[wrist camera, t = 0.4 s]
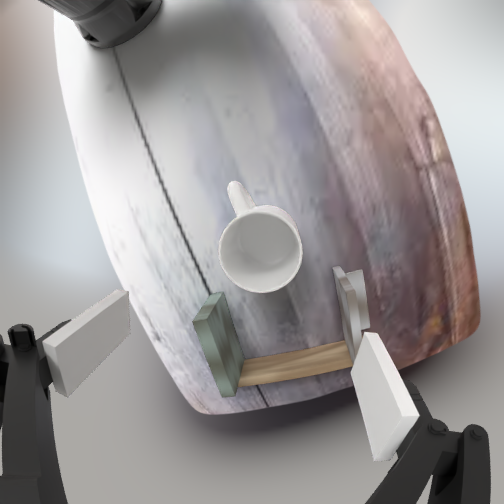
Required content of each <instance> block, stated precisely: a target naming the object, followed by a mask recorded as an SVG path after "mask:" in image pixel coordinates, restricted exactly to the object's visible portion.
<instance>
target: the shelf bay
mask: <svg viewBox="0 0 504 504" xmlns="http://www.w3.org/2000/svg"><path fill="white" fill-rule="evenodd" d="M332 268H333V273H334V279H335V284H336V290H337V295H338V301H339V307H340V313H341V319H342V325H343V332H344V338H345V340H343V341H339V342H334V343H330V344H326V345H321V346H317V347H312V348H307V349H302V350H297V351H292V352H287V353H281V354H276V355H270V356H264V357H258V358H252V359H244V356H243V353H242V350H241V347H240V344H239V341H238V338H237V335H236V331H235V328H234V325H233V322H232V319H231V316H230V313H229V309H228V306H227V303H226V300H225V297H224V293H223V292H219V293H214V294H211V295H210V297H209V298H208V299H207V301H206V302H205V304H204V305H203V307H202V308H201V310H200V311H199V312H198V314H197V315H196V317H195V318H194V320H193V321H192V322H193V325H194V328H195V330H196V333H197V336H198V338H199V341H200V344H201V346H202V349H203V352H204V354H205V357H206V359H207V362H208V364H209V367H210V369H211V372H212V374H213V377H214V379H215V382H216V384H217V386H218V389H219V391H220V394H221V396H222V397H233V396H235V395H236V392H237V388H238V387H243V386H251V385H258V384H265V383H272V382H278V381H284V380H290V379H296V378H301V377H307V376H312V375H317V374H321V373H326V372H331V371H335V370H340V369H344V368H348V367H352V366H353V365H354V362H355V359H356V356H357V354H358V351H359V348H360V345H361V342H362V339H363V336H362V334H361V330H363V329H367V328H370V321H369V313H368V305H367V297H366V290H365V283H364V276H363V270H362V269H361V270H357V271H353V272H349V273H345V274H344V272H343V270H342V269H341V267H340V266H336V267H332Z"/></svg>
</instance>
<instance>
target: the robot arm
mask: <svg viewBox="0 0 504 504" xmlns="http://www.w3.org/2000/svg"><path fill="white" fill-rule="evenodd" d="M38 1H40V2H42V3H44V4H45V5H47V6H49V7H51V8H53V9H54V10H56V11H58V12H60V13H61V14H63V15H65V16H66V17H68V18H70V19H71V20H73V21H74V23H75V25H76V27H77V28H78V30H79V32H80V33H81V35H82V37H83V38H84V39H85V40H86V41H87V42H88V43H90V44H92V45H93V46H95V47H99V48H108V47H113V46H116V45H119V44H121V43H124V42H126V41H127V40H129V39H131V38H132V37H134V36H135V35H137V34H138V33H139V32H140V31H142V30H143V29H144V28H145V27H146V26H147V25H148V24H149V23H150V21H151V20H152V19H153V18H154V16H155V15H156V13H157V11H158V9H159V7H160V4H161V0H38ZM129 334H130V319H129V292H128V291H124V290H120V289H117V290H115V291H114V292H112V293H111V294H109V295H108V296H106V297H105V298H104V299H102V300H101V301H99V302H98V303H96V304H95V305H93V306H92V307H90V308H89V309H87V310H86V311H84V312H83V313H82V314H80V315H79V316H77V317H76V318H75V319H73V320H68V321H65V322H62V323H60V324H59V325H58V326H56V328H53V329H52V330H51V331H49V332H47V333H46V334H45V335H43V336H42V337H41V338H39V339H38V340H35V336H34V331H33V328H32V327H31V326H30V325H27V324H18V325H15V326H12V327H11V328H10V329H9V330H8V335H9V339H10V343H11V345H6V344H4V342H3V338H2V336H1V335H0V429H1V427H2V466H3V474H2V476H0V504H68V502H67V499H66V495H65V491H64V487H63V483H62V478H61V473H60V469H59V464H58V458H57V452H56V447H55V440H54V431H53V422H52V413H51V401H50V400H51V399H50V390H49V387H48V386H49V385H50V384H51V383H52V382H53V384H54V387H55V390H56V392H58V393H60V394H62V395H64V396H66V397H69V396H70V395H71V394H72V393H73V392H74V391H75V390H76V389H77V388H78V387H79V385H80V384H81V383H82V382H83V381H84V380H85V379H86V378H87V377H88V376H89V375H90V374H91V373H92V372H93V371H94V370H95V369H96V368H97V367H98V366H99V365H100V364H101V363H102V362H103V361H104V360H105V359H106V358H107V356H109V355H110V353H112V351H113V350H114V349H115V348H116V347H117V346H118V345H119V344H120V343H121V342H122V341H123V340H124V339H125V338H126V337H127V336H128V335H129ZM351 376H352V380H353V383H354V387H355V390H356V394H357V397H358V401H359V405H360V408H361V412H362V416H363V419H364V423H365V427H366V431H367V435H368V439H369V443H370V447H371V451H372V456H373V459H374V461H385V460H386V461H387V460H391V458H392V457H393V455H394V454H395V452H397V455H398V460H397V461H396V462H395V464H394V465H393V466H392V468H391V469H390V470H389V471H388V474H387V476H386V477H385V478H384V480H383V481H382V482H381V484H380V485H379V486H378V488H377V489H376V490H375V492H374V493H373V494H372V496H371V497H370V498H369V499H368V501H367V502H366V503H365V504H416V502H417V501H418V499H419V497H420V496H421V494H422V492H423V490H424V488H425V486H426V484H427V482H428V480H429V479H430V476H431V475H433V479H432V485H431V489H430V495H429V499H428V504H490V493H491V476H490V475H491V472H490V452H489V439H488V434H487V432H486V431H485V430H484V428H482V427H481V426H478V425H475V424H471V425H468V426H467V427H466V428H465V429H464V431H463V432H462V433H459V432H453V431H449V429H448V427H447V426H446V425H445V423H443V422H442V421H440V420H437V419H433V418H432V416H431V414H430V412H429V410H428V408H427V406H426V404H425V402H424V401H423V399H422V397H421V395H420V393H419V391H418V389H417V387H416V386H415V385H414V384H413V383H411V382H410V381H409V380H402V379H401V377H400V375H399V373H398V371H397V369H396V367H395V365H394V363H393V361H392V359H391V358H390V356H389V354H388V352H387V350H386V348H385V346H384V344H383V343H382V341H381V339H380V337H379V335H378V334H377V333H370V332H364V335H363V339H362V342H361V345H360V348H359V351H358V354H357V356H356V359H355V362H354V365H353V368H352V370H351ZM2 423H3V424H2Z"/></svg>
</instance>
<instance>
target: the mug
mask: <svg viewBox="0 0 504 504" xmlns="http://www.w3.org/2000/svg"><path fill="white" fill-rule="evenodd" d="M228 195H229V199H230V201H231V204H232V206H233V208H234V211H235V213H236V215H237V217H236V218H235V219H233V220H232V221H231V222H230V223H229V224H228V225H227V227H226V228H225V229H224V231H223V233H222V235H221V238H220V241H219V248H218V255H219V261H220V264H221V267H222V269H223V271H224V272H225V274H226V275H227V277H228V278H229V279H230V280H231V281H232V282H233V283H234V284H236V285H237V286H239V287H240V288H242V289H244V290H247V291H250V292H255V293H268V292H273V291H276V290H278V289H280V288H282V287H284V286H285V285H287V284H288V283H289V282H290V281H291V280H292V279H293V278H294V277H295V275H296V274H297V272H298V270H299V268H300V265H301V262H302V257H303V249H302V243H301V239H300V235H299V232H298V228H297V226H296V223H295V222H294V220H293V218H292V217H291V216H290V215H289V214H288V213H287V212H286V211H284V210H283V209H281V208H279V207H276V206H272V205H261V206H256V205H255V203H254V201H253V200H252V198H251V196H250V195H249V193H248V192H247V190H246V189H245V188H244V187H243V185H242V184H241V183H239V182H237V181H232V182H230V183H229V185H228Z"/></svg>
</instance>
